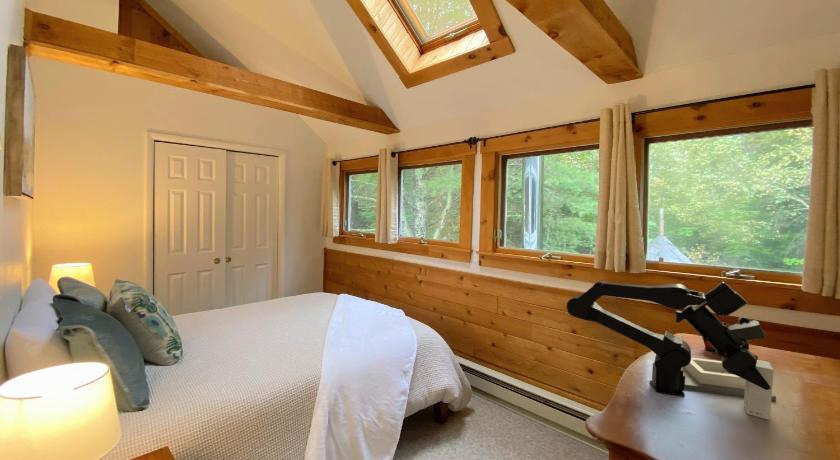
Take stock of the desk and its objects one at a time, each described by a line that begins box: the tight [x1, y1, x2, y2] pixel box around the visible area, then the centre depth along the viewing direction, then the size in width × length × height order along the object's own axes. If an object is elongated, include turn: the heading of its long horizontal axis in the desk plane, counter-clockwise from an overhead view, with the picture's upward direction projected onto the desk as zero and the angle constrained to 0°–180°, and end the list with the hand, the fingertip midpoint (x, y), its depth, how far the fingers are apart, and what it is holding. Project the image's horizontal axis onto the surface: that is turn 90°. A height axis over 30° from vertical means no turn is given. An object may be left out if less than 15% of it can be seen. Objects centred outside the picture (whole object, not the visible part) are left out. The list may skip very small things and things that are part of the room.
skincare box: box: [743, 359, 774, 421], centre depth 88 cm, size 6×4×12 cm
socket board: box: [681, 357, 777, 402], centre depth 104 cm, size 20×16×4 cm
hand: (765, 381), depth 87 cm, fingers open, 9 cm apart
